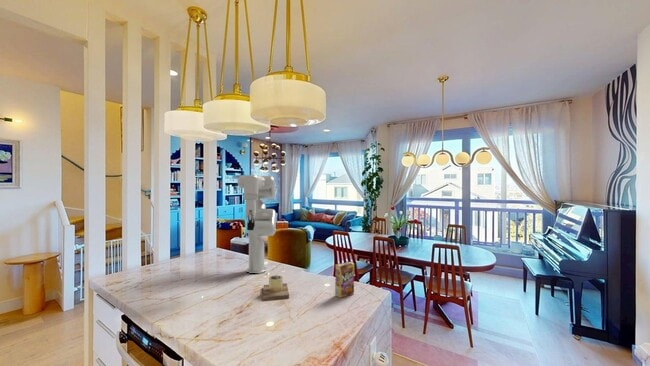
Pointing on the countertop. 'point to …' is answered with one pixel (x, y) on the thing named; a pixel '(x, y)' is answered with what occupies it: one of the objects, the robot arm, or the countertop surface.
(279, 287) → the wooden cup
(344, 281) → the candy box
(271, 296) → the post stand
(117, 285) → the countertop surface
